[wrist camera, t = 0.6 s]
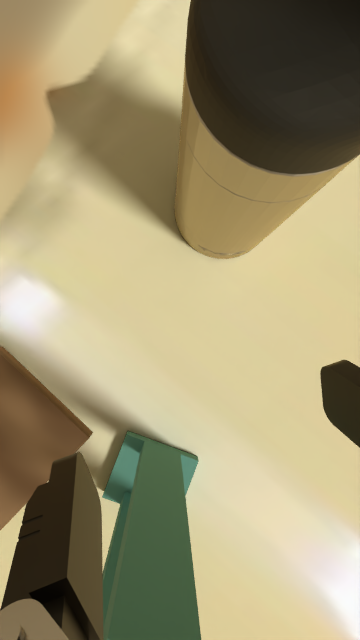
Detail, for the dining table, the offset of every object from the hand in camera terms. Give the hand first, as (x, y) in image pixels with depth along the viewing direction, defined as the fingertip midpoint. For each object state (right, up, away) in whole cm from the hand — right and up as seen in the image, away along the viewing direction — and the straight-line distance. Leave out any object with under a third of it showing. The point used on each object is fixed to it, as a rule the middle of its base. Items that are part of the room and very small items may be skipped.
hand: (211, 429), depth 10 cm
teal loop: (-4, -11, +20) cm, 23 cm away
